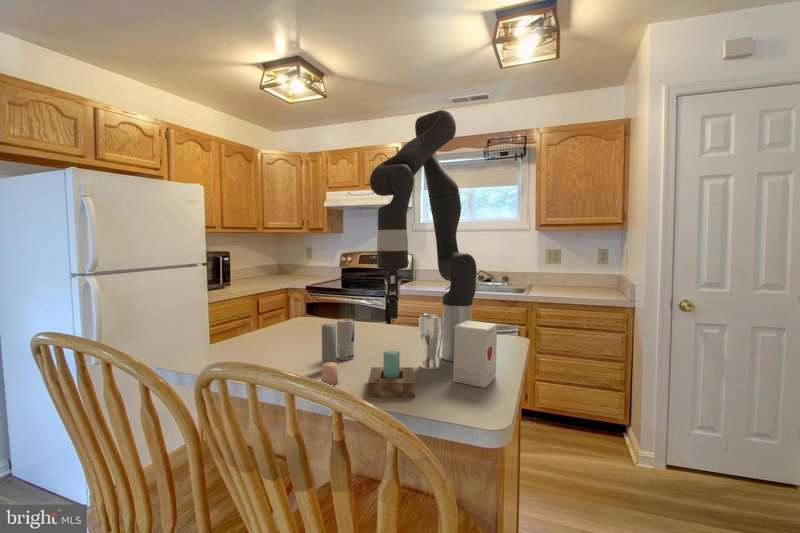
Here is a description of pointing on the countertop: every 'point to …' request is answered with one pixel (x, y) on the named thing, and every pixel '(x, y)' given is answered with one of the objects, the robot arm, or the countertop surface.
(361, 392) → the countertop surface
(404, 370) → the brown wooden square frame
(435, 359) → the beer glass
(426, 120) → the robot arm
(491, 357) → the supplement box
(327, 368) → the short dowel
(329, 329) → the long dowel
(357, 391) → the countertop surface
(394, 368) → the medium dowel
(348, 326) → the energy drink
